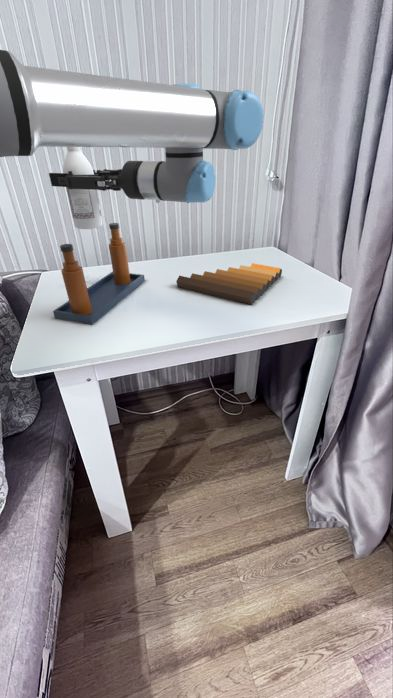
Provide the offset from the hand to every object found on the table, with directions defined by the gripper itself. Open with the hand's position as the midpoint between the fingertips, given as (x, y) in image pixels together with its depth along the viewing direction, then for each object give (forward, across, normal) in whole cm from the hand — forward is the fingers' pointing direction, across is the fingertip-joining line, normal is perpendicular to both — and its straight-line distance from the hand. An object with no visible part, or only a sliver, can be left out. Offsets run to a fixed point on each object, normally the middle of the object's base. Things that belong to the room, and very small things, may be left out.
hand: (63, 177), depth 78 cm
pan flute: (-35, +26, -32) cm, 54 cm away
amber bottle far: (-3, +12, -31) cm, 33 cm away
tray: (-4, +1, -32) cm, 32 cm away
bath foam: (-5, 0, -11) cm, 12 cm away
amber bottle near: (-5, -10, -31) cm, 33 cm away
